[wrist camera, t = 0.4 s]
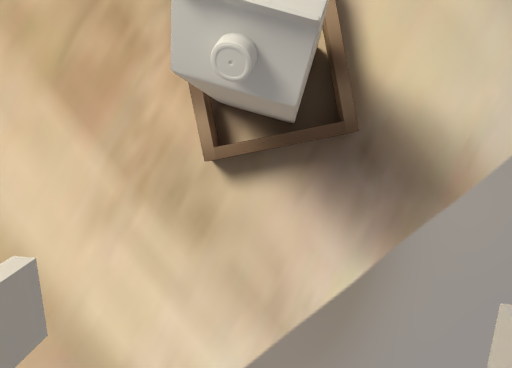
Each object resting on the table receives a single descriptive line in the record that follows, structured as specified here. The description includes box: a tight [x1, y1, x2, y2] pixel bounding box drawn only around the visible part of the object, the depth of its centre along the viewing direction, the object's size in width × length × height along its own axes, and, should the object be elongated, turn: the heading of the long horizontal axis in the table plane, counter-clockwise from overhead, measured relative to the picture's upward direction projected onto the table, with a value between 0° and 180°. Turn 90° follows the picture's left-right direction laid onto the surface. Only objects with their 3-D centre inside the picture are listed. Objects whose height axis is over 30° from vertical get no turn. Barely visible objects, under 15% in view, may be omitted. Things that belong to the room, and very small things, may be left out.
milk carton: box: [171, 0, 329, 124], centre depth 28 cm, size 7×7×19 cm
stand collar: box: [188, 0, 359, 161], centre depth 36 cm, size 13×13×3 cm
